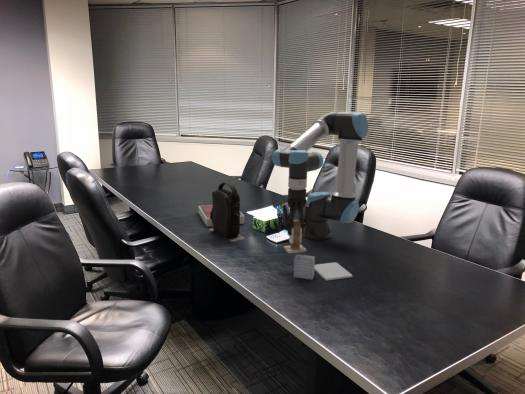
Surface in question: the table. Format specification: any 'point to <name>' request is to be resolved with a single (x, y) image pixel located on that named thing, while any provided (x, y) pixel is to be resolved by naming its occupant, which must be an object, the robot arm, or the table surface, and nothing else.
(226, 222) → the shoulder bag
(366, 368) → the table surface
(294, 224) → the wooden stamp
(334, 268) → the mat
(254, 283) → the table surface
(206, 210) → the product packaging
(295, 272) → the medicine box
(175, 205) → the table surface
